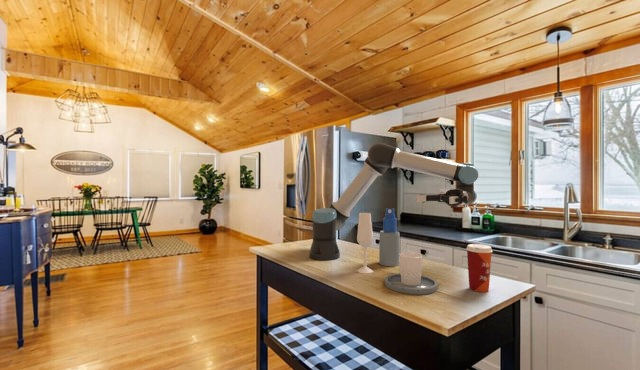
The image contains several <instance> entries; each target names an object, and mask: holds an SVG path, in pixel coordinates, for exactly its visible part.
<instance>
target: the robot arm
mask: <svg viewBox="0 0 640 370" xmlns="http://www.w3.org/2000/svg"><path fill="white" fill-rule="evenodd" d="M363 164H364V166H363V167H362V168H361V169H360V171H359V172H358V174H357V175H356V176H355V177H354V178H353V180H352V181H351V183H350V184H349V185H348V186H347V188H346V189H345V191H344V192H343V193H342V194H341V196H340V197H339V198H338V200H337V201H333V202H331V204H330V205H329V206H328V207H321V208H317V209H315V210H313V211H312V243H311V246H310V249H309V252H308V257H309V259H313V260H316V261H331V260H332V261H333V260H338V259H339V258H340V257H341V252H340V248H339V245H338V242H337V231H339V230H341V229H342V228H343V227H344V226H345V224H346V222H347V220H348V219H349V218H350V216H351V210H353V208H354V207H355V206H356V204H357V203H358V202H359V200H360V199H361V198H362V196H363V195H364V194H365V193H366V192H367V190H369V188H370V186H371V185H372V184H373V183H374V182H375V180H376V179H377V178H378V177H379V176H383V175H384V174H385V172H386V171H387V170H388V169H389V168H390V169H394V168H400V169H403V170H409V171H412V172H415V173H419V174H420V173H421V174H424V175H425V174H426V175H429V176H433V177H437V178H441V179H445V180H450V181H454V182H455V188H453V189H449V190H447V191H446V192H445V193H438V194H437V193H436V194H420V195H416V203H423V204H424V203H425V202H438V203H446V205H448V206H449V207H457V208H460V207H461V206H469V205H472V204H473V203H474V202H476V200H477V196H478V195H477V193H476V191H475V184H474V183H475V182H476V181H477V180H478V179H479V171H478V169H477V168H476V167H475V166H474V163H473V162H460V163H458V162H452V161H448V160H444V159H440V158H435V157H430V156H426V155H421V154H417V153H412V152H408V151H403V150H400V149H399V148H398V147H396V146H392V145H389V144H387V143H385V142H384V143H383V142H377V143H374V144H372V145H371V146H370V147H369V148H368V151H367V157H366V158H365V160H363ZM425 204H426V203H425Z"/></svg>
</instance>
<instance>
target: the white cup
mask: <svg viewBox="0 0 640 370" xmlns="http://www.w3.org/2000/svg"><path fill="white" fill-rule="evenodd" d="M399 268H400V271H399V273H400V274H401V283H403V284H405V285H411V286H416V285H420V284H421V275H423V274H422V271H423V254H422V253H421V254H420V253H419V252H418V253H417V252H401V253H399Z"/></svg>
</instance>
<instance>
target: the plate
mask: <svg viewBox="0 0 640 370" xmlns="http://www.w3.org/2000/svg"><path fill="white" fill-rule="evenodd" d="M384 285H385V287H386V288H388V289H389V290H391V291H393V292H397V293H401V294H405V295H415V296H416V295H417V296H419V295H429V294H430V295H431V294H434V293H436V292H437V291H438V288H439V284H438V280H436V279H434V278H432V277H431V276H429V275H423V274H421V284H420V285H416V286H411V285H405V284H403V283H401V274H400V272H398V273H391V274H389V275H386V276H385V278H384Z"/></svg>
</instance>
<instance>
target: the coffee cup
mask: <svg viewBox="0 0 640 370" xmlns="http://www.w3.org/2000/svg"><path fill="white" fill-rule="evenodd" d="M466 251H467V252H466V254H467V274H468V285H469V286H468V288H469V290H471V291H474V292H478V293H487V291H488V290H489V291H490V279H491V265H492V264H491V263H492V253H494V251H493V250H492V247H491V246H490V245H487V244H481V243H480V244H478V243H472V244H471V243H470V244H467V247H466ZM489 291H488V292H489Z"/></svg>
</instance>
